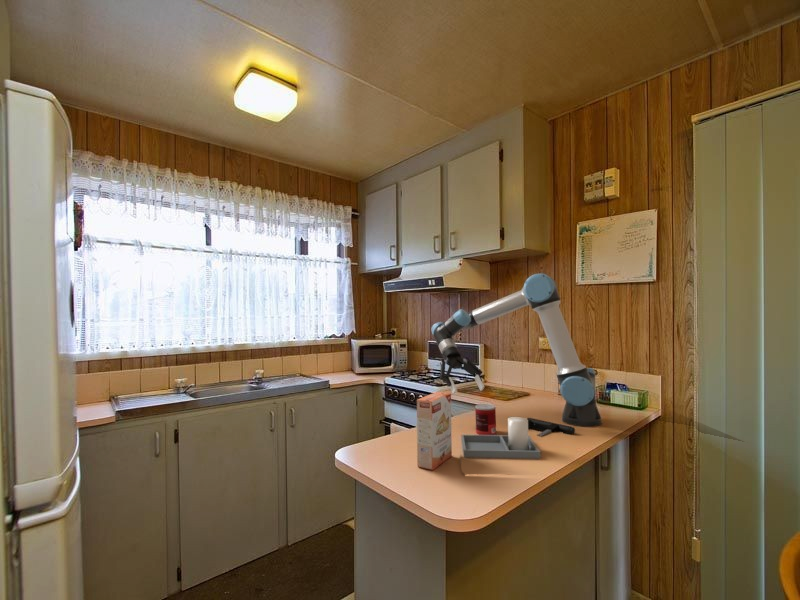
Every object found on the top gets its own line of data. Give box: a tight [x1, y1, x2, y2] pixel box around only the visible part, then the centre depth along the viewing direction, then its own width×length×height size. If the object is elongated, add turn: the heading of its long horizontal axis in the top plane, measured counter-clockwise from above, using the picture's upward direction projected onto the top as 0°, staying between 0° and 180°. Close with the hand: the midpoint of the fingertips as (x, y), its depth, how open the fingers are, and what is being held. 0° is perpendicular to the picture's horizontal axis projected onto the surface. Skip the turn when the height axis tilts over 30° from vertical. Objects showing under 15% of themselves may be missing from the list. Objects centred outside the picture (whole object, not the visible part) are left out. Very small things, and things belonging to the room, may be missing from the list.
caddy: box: [460, 434, 542, 460], centre depth 130 cm, size 24×16×3 cm, turn 84°
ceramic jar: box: [507, 416, 530, 451], centre depth 129 cm, size 7×7×10 cm
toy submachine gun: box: [526, 417, 576, 438], centre depth 150 cm, size 3×20×16 cm
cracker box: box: [416, 391, 453, 471], centre depth 122 cm, size 14×6×21 cm, turn 148°
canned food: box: [474, 403, 497, 435], centre depth 148 cm, size 8×8×11 cm
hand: (469, 390), depth 158 cm, fingers open, 13 cm apart
